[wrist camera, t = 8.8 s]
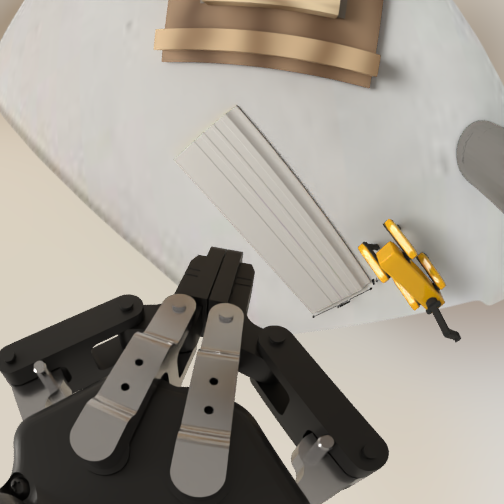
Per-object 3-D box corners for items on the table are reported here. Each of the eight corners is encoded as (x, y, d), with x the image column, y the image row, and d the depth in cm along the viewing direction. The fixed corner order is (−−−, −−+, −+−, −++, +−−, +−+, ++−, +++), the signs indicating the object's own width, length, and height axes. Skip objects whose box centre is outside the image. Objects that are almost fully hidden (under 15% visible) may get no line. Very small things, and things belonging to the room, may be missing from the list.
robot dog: (423, 297, 45) (446, 361, 34) (353, 232, 40) (369, 298, 29) (449, 276, 42) (479, 338, 31) (382, 204, 38) (412, 263, 27)
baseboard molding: (246, 97, 33) (177, 156, 39) (242, 99, 31) (169, 163, 36) (378, 274, 44) (312, 307, 49) (381, 286, 42) (312, 320, 47)
